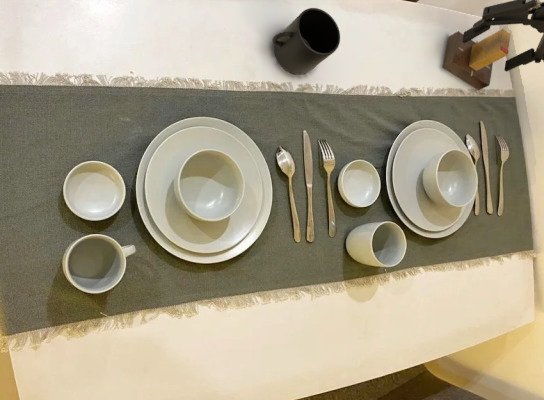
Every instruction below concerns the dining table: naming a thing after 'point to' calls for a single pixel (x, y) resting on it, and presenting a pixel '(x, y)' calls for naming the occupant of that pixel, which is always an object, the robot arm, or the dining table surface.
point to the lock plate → (465, 62)
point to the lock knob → (490, 49)
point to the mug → (307, 41)
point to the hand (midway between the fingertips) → (485, 52)
